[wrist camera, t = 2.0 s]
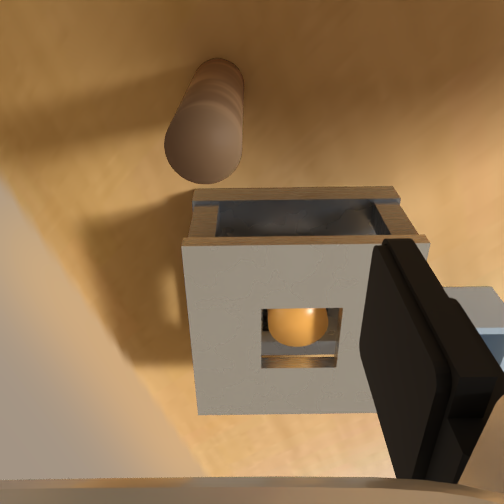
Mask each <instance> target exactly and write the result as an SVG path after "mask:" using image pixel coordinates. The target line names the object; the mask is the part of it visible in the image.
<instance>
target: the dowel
mask: <svg viewBox="0 0 504 504" xmlns="http://www.w3.org/2000/svg"><path fill="white" fill-rule="evenodd" d="M243 101H244V81H243V77H242V74H241V72H240V71H239V69H238V68H237V67H236V66H235V65H234V64H233V63H231V62H229V61H227V60H224V59H211V60H208V61H206V62H204V63H203V64H202V65H201V66H200V67H199V68H198V69H197V71H196V73H195V75H194V77H193V79H192V81H191V83H190V85H189V87H188V89H187V91H186V93H185V95H184V97H183V99H182V101H181V103H180V105H179V107H178V109H177V112H176V114H175V116H174V118H173V120H172V122H171V124H170V126H169V128H168V130H167V132H166V136H165V142H164V148H165V154H166V157H167V160H168V162H169V164H170V165H171V167H172V168H173V169H174V171H175V172H176V173H178V174H179V175H180V176H181V177H183V178H184V179H186V180H188V181H191V182H194V183H198V184H212V183H217V182H220V181H222V180H224V179H225V178H227V177H228V176H229V175H231V174H232V173H233V172H234V170H235V169H236V168H237V166H238V164H239V162H240V159H241V155H242V135H243Z"/></svg>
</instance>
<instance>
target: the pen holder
mask: <svg viewBox="0 0 504 504" xmlns="http://www.w3.org/2000/svg"><path fill="white" fill-rule="evenodd" d="M443 289H444V290H445V292H446V293H447V295H448V297H449V298H454V299H456V300H457V301H458V302H459V303H460V304H461V306H462V308H463V309H464V311H465V312H466V314H467V315H468V317H469V318H470V320H471V322H472V323H473V325H474V326H475V328H476V329H477V331H478V332H479V334H480V336H481V337H482V339H483V340H484V342H485V343H486V345H487V346H488V348H489V350H490V351H491V353H492V354H493V356H494V357H495V359H496V361H497V362H498V364H499V365H500V367H501V368H502V370H503V371H504V303H503V301H502V300H501V299H500V297H499V296H498V295H497V293H496V292H495V291H494V289H493V288H492V287H443Z"/></svg>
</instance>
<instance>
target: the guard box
mask: <svg viewBox="0 0 504 504" xmlns="http://www.w3.org/2000/svg"><path fill="white" fill-rule="evenodd" d="M400 200H401V198H400V196H399V195H398V193H397V192H396V190H395V189H394V187H310V188H228V189H195V190H194V195H193V199H192V207H193V216H192V220H191V225H190V229H189V234H188V237H183V241H182V245H181V249H182V259H183V269H184V279H185V289H186V299H187V309H188V318H189V328H190V338H191V348H192V358H193V368H194V378H195V388H196V398H197V407H198V415H250V414H327V413H377V411H376V408H375V404H374V401H373V398H372V394H371V391H370V388H369V384H368V381H367V378H366V374H365V371H364V367H363V364H362V361H361V357H360V351H359V339H360V333H361V326H362V319H363V312H364V305H365V299H366V292H367V285H368V278H369V271H370V264H371V258H372V251H373V248H374V246H375V245H381V244H382V242H383V240H384V239H392V238H411V239H413V240H414V242H415V244H416V245H417V247H418V248H419V250H420V252H421V253H422V255H423V256H424V258H425V260H426V261H427V257H428V252H429V247H430V242H429V240H428V239H427V237H426V236H425V235H419V234H418V233H417V231H416V230H415V228H414V226H413V225H412V223H411V222H410V220H409V219H408V217H407V215H406V214H405V212H404V211H403V209H402V208H401V206H400ZM290 308H326V312H327V316H328V328H327V330H326V332H325V334H324V335H323V336H322V337H321V338H320V339H319V340H318V341H316V342H314V343H312V344H310V345H307V346H302V347H292V346H287V345H284V344H281V343H279V342H278V341H277V340H275V339H274V338H273V337H272V335H271V334H270V331H269V328H268V312H267V309H290ZM318 354H334V357H288V358H261V355H318Z"/></svg>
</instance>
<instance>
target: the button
mask: <svg viewBox="0 0 504 504" xmlns="http://www.w3.org/2000/svg"><path fill="white" fill-rule="evenodd" d="M267 312H268V328H269V331H270V334H271V335H272V337H273V338H274V339H275V340H277V341H278V342H279V343H281V344H284V345H287V346H292V347H302V346H307V345H310V344H312V343H314V342H316V341H318V340H319V339H320V338H321V337H322V336H323V335H324V334H325V332H326V330H327V328H328V316H327V312H326V308H290V309H267Z"/></svg>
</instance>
